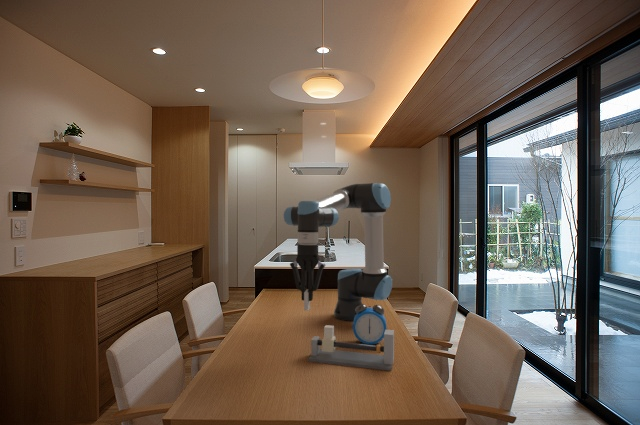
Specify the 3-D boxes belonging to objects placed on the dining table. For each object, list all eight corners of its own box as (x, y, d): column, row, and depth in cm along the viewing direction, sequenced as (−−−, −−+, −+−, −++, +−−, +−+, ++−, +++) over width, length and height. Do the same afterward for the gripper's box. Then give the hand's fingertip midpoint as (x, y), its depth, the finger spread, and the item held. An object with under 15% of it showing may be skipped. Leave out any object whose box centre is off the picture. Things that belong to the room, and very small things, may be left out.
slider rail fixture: (316, 350, 139) (316, 321, 139) (394, 359, 131) (394, 328, 131) (308, 361, 129) (308, 329, 129) (392, 371, 122) (392, 337, 122)
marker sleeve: (324, 346, 135) (325, 324, 135) (335, 347, 134) (335, 325, 134) (322, 351, 131) (322, 327, 131) (333, 352, 130) (333, 328, 130)
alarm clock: (352, 344, 146) (352, 305, 145) (353, 338, 152) (353, 302, 151) (386, 346, 144) (386, 307, 143) (386, 340, 150) (386, 303, 149)
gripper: (287, 244, 132) (286, 310, 132) (322, 245, 129) (321, 313, 129) (294, 242, 139) (293, 305, 139) (327, 243, 136) (327, 308, 136)
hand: (307, 309), depth 134 cm, fingers closed
